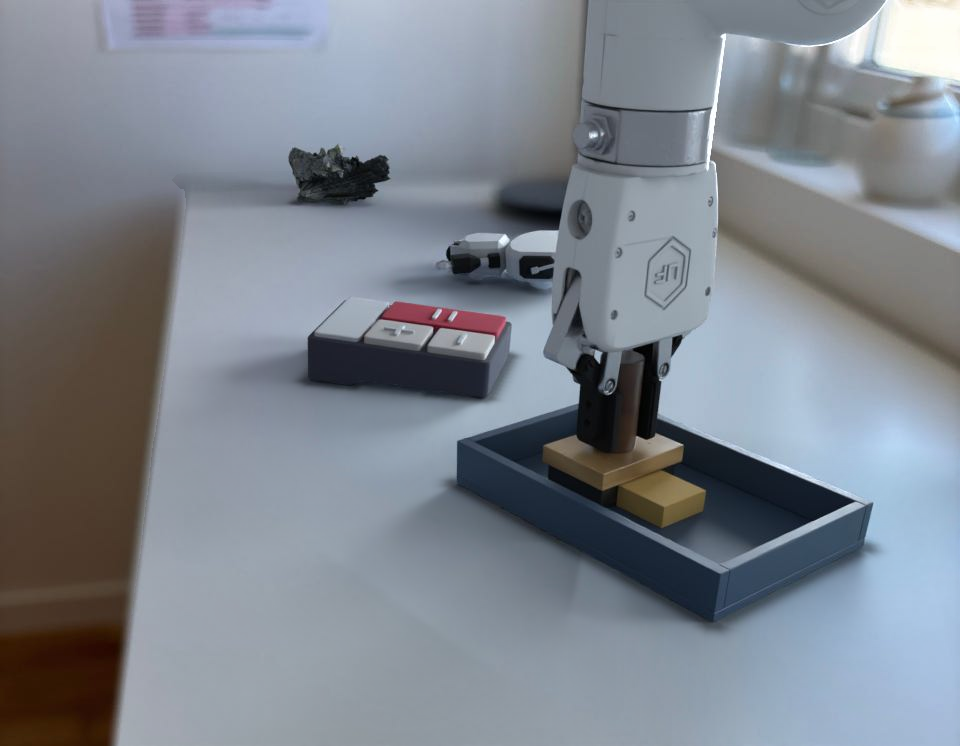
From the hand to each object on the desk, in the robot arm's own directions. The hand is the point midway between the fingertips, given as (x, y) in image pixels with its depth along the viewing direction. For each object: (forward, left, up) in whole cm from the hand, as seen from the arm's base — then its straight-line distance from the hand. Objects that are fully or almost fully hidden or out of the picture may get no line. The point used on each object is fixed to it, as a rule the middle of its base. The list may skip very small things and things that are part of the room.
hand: (615, 436), depth 74 cm
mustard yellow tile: (0, +4, -3) cm, 6 cm away
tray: (0, +4, -4) cm, 6 cm away
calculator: (-4, -27, -4) cm, 28 cm away
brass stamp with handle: (0, 0, -3) cm, 3 cm away
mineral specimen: (-35, -83, -4) cm, 90 cm away
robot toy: (-29, -42, -4) cm, 51 cm away
